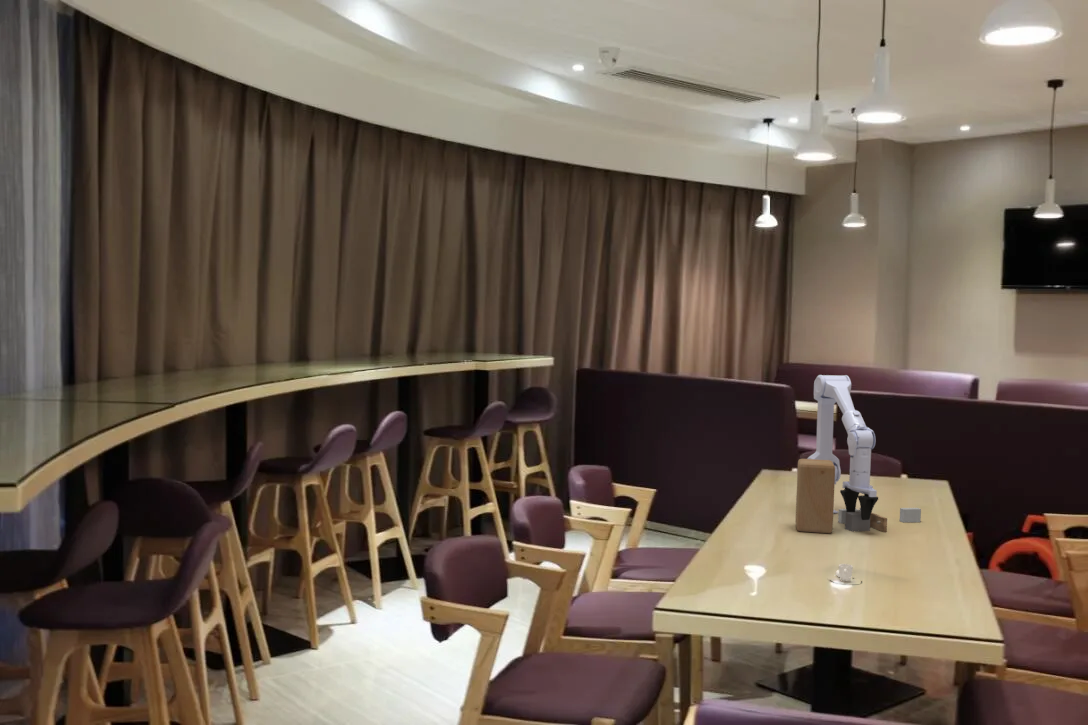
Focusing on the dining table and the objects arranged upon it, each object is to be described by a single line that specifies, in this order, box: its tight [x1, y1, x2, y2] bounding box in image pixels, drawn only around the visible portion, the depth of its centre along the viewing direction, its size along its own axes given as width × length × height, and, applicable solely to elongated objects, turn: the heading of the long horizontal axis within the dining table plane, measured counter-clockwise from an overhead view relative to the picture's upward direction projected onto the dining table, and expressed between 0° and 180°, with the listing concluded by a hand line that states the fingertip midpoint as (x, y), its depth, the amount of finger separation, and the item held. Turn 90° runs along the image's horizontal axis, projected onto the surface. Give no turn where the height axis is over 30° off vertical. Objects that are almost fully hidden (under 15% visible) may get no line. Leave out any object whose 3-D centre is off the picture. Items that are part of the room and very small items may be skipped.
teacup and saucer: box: [835, 563, 853, 582], centre depth 240 cm, size 9×8×4 cm
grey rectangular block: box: [844, 512, 871, 532], centre depth 294 cm, size 6×4×5 cm, turn 105°
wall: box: [837, 507, 922, 525], centre depth 305 cm, size 26×2×4 cm, turn 100°
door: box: [870, 511, 888, 533], centre depth 297 cm, size 12×2×4 cm, turn 15°
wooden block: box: [794, 458, 836, 534], centre depth 292 cm, size 10×10×20 cm
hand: (858, 517), depth 294 cm, fingers open, 7 cm apart
